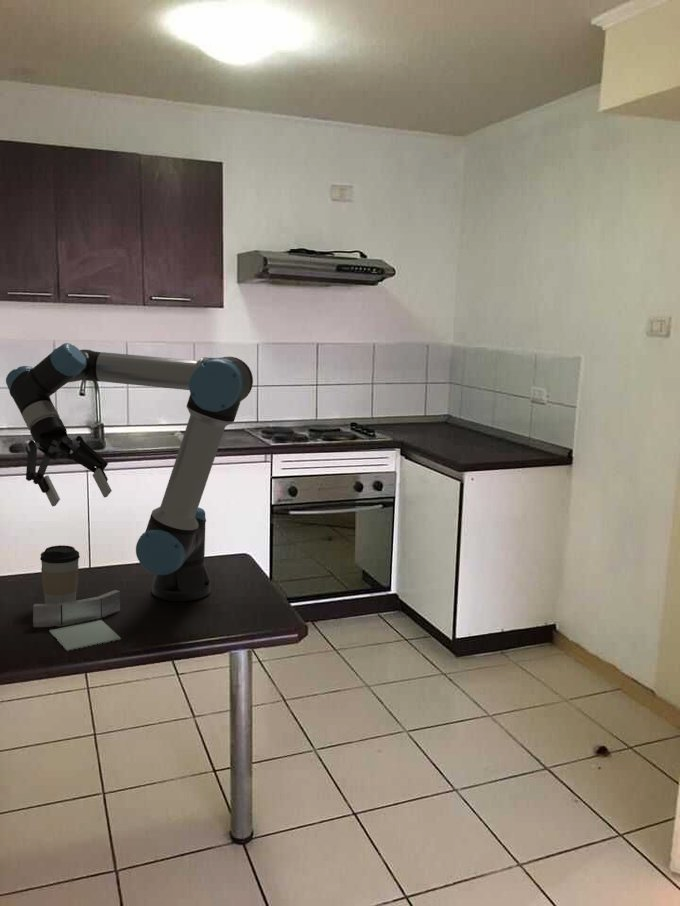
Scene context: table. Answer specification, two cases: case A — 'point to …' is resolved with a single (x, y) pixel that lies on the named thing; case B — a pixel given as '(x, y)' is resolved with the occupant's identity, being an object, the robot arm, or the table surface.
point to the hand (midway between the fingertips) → (82, 498)
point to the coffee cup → (59, 573)
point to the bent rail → (76, 610)
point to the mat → (84, 635)
